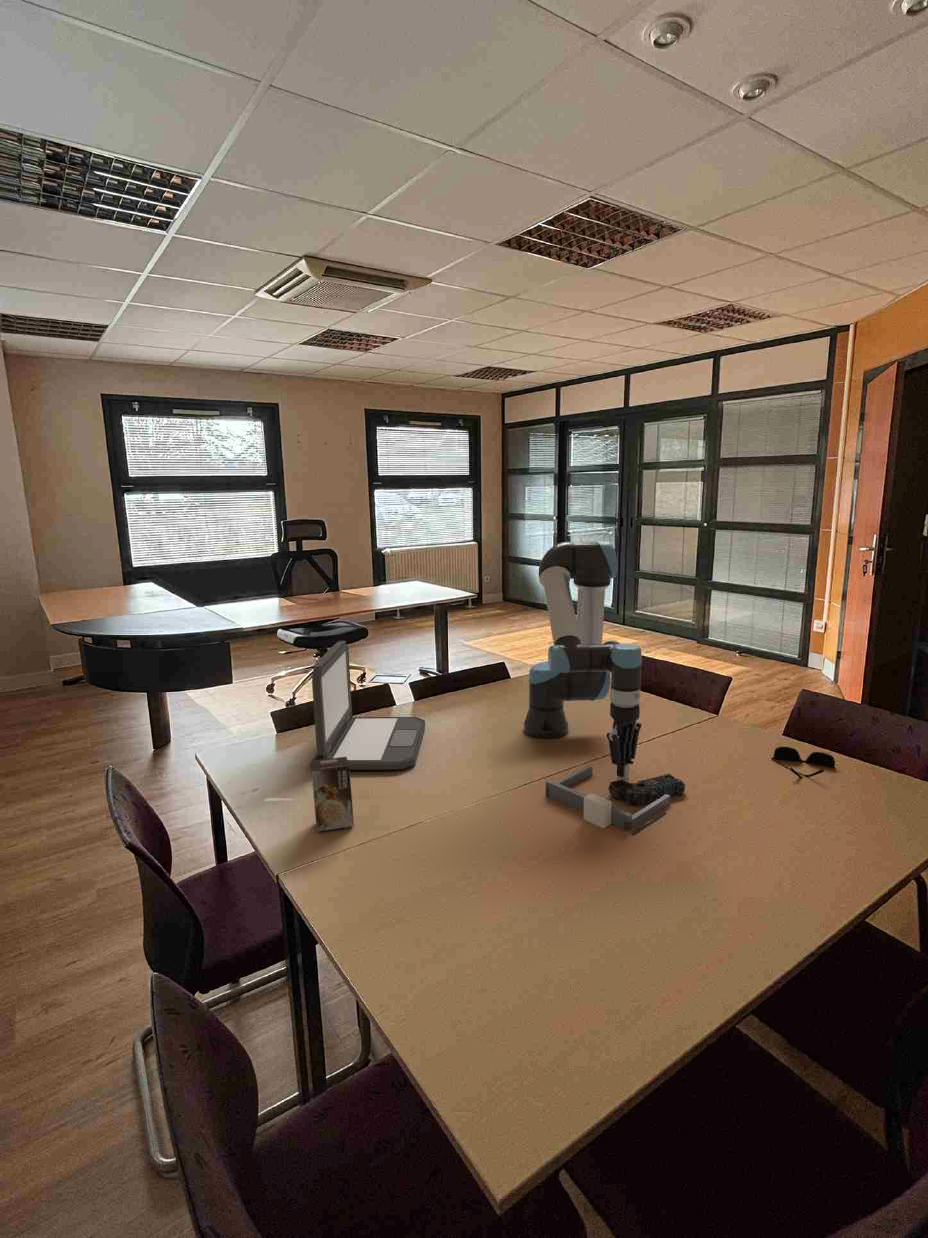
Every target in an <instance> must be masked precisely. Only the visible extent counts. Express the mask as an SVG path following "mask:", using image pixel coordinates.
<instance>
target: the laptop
mask: <svg viewBox="0 0 928 1238" xmlns="http://www.w3.org/2000/svg"><path fill="white" fill-rule="evenodd" d="M350 670H351V669H350V653H349V647H348V644H347V641H346V640H338V641H337V642H335V643H334V645H333V646H331V648H329V649H328V650H327V651H326V653H324V655H322V656H321V658H319V660H317V661H316V663H315V664H314V665H313V670H312V674H311V676H312V677H311V678H312V679H311V685H312V703H313V714H314V715H313V716H314V730H315V742H316V754H315V755H314V757H313V758H312V759H311V761H316V760H324V759H331V758H339V757H347V760H348V763H349V770H352V771H353V770H354V771H355V770H358V771H359V770H361V771H362V770H404V769H407V768H411V767H413V766H416V764H417V760H418V757H419V752H420V749H421V746H422V742H423V739H424V734H425V730H426V720H425V719H422V718H420V717H415V716H365V717H364V716H362V717H360V716H354V717H353V712H352V711H353V703H352V701H353V700H352V687H351V683H352V682H351V671H350ZM309 769H311V762H310V763H309Z"/></svg>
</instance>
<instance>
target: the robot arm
mask: <svg viewBox="0 0 928 1238" xmlns="http://www.w3.org/2000/svg"><path fill="white" fill-rule="evenodd" d="M614 547H615V546H613V544H612V543H611V542H609V541H602V540H601V541H600V540H599V541H598V540H590V541H589V540H588V541H584V540H583V541H563V542H558V543H556V544H554V545H553V546H552V547H550V548H549V549H548V550H547V551H546V553H545V554H544V555H543V557H542V558H541V560H540V563H539V567H538V580H539V583H540V585H541V586H542V587H543V590H544V595H545V601H546V607H547V613H548V618H549V624H550V630H551V636H552V642H553V645H550V646H549V648H548V650H547V660H548V661H541V662H539V663H535V664H534V665H533V666H531V667H530V669H529V673H528V680H527V681H528V710H527V712H526V715H525V718H524V719H525V720H524V721H523V731H524V732H525V734H527V735H529V736H532V737H535V738H539V739H554V738H556V739H557V738H560V737H563V736H565V735H566V734H568V733H569V721H567V717H566V714H565V709H564V703H565V702H572V701H573V702H579V701H580V702H581V701H582V702H583V701H592V702H593V701H599V700H604V699H605V698H606V697H607V696H608V694H609V692H610V697H609V698H610V702H611V703H610V707H609V708H610V709H609V710H610V711H609V716H610V718H612V720H613V724H612V731H610V732H607V733H606V738H607V740H608V747H609V752H610V761H611V763H612V764H613V765H616V781H617V780H623V781H625V782H627V783H630V782H629V779H630V778H629V777H630V765H633V764H634V761H633V760H635V758H636V752H637V749H638V748H637V747H638V741H639V736H640V731H641V728H642V723H641V722H637V720H639V718H640V713H641V708H640V707H641V705H640V703H641V686H642V682H641V680H642V663H643V658H642V657H643V656H642V649H641V647H640V646H639V645H636V644H634V643H622V642H618V641H617V640H607V641H605V642H604V643H603V634H604V617H605V602H606V600H605V598H606V589H607V588H609V587H610V586H611V580H612V579H614V578H616V577H617V575H618V569H619V568H618V559H617V553H616V550H615V548H614ZM570 580H573V585H574V586H576V588H577V603H576V606H577V608H576V611H575V607H574V602H573V598H572V593H571V587H570V584H569V582H570Z"/></svg>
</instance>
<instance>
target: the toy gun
mask: <svg viewBox="0 0 928 1238" xmlns="http://www.w3.org/2000/svg"><path fill="white" fill-rule="evenodd" d="M607 789H608V791H609V794H610V795H611V796H613V797H615V798H616V799H618V800H620V801H621V802H626V804H627V805H628V806H633V807H641V806H644V805H645V804H646V805H647V804H649V803H650V804H651V803H653V802H654V801H656V800H657V799H659V798H661V797H662V796H664V795H665V794H667V795H670V798H671V797H675V796H679V795H682V794H685V789H686V783H685V782H684V781H683V780H682V779H680V778H676V777H675V776H674V775H673V774H671V773H666V774H663V775H659V776H658V775H657V776H655V777H651V778H647V779H642V780H638V781H637V782H635V783H633V782H629V783H627V782H625V781H623V780H617V779H616V780H613V781H611V782H609V785H608V788H607Z"/></svg>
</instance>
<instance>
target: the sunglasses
mask: <svg viewBox="0 0 928 1238" xmlns="http://www.w3.org/2000/svg"><path fill="white" fill-rule="evenodd" d="M774 759H775V760H774ZM771 761H773V762H774V761H775V762H774V763H776V764H778V765H780V766H782V767H784V768H786V769H788V770H789V771H791V772H792V773H793V774H794V775H795V776H797V777H798V778H800V779H802V778H801V777H806V778H811V777H815V776H817V775H819V774H822V773H824V772H825V771H824V769H823V768H821V769H819V770H817V771H815V772H813V773H811V774H804V773H802V772H801V773H800V772H798V771H796V770H795V769H794V768H793V767H792V766H790V767H788V766H786V765H784V764H783V763H781V762H779V761H783V762H784V761H786V762H795V761H799V762H798V763H805V764H810V765H816V766H820V767H821V766H822V767H824V768H825V767H826V768H830V769H836V767H835V766H836V761H835V758H834V756H833V755H831V753H830V754H829V753H826V752H822V751H813V752H811V753H810V754H809V755H808V756H807V757H806V759H805V760H803V759H802V757H801V755H800V753H799V751H798V750H797V749H795V748H794V747H790V746H778V747H776V748H775V749H774V752H773V756H772V757H771ZM798 773H799V774H798ZM803 775H804V776H803Z"/></svg>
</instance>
